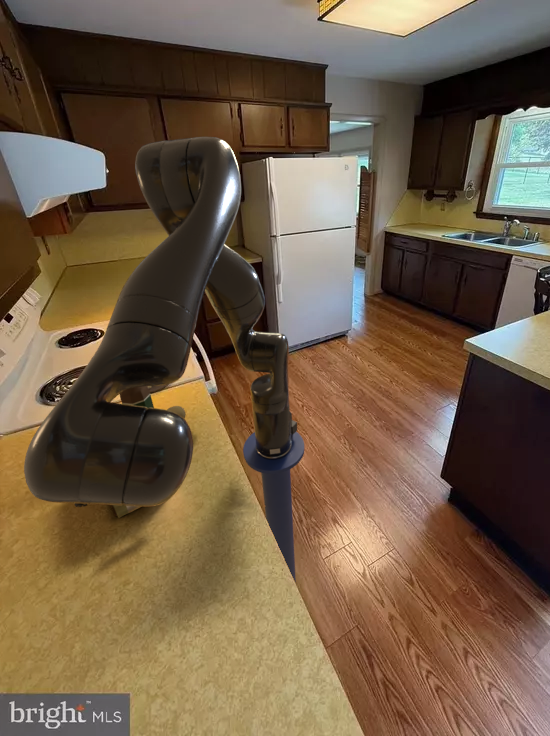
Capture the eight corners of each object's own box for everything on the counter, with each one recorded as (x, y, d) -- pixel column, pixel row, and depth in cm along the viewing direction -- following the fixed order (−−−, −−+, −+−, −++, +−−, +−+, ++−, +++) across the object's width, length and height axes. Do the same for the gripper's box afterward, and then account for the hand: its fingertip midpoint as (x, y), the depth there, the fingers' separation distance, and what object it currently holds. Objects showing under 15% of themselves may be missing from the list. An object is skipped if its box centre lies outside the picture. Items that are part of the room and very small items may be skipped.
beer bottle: (140, 439, 91) (117, 364, 81) (123, 429, 95) (100, 357, 84) (164, 423, 97) (145, 351, 87) (147, 414, 101) (128, 345, 90)
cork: (192, 431, 93) (185, 400, 89) (193, 446, 88) (186, 413, 83) (169, 437, 91) (161, 405, 87) (169, 452, 86) (161, 419, 82)
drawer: (180, 505, 71) (173, 479, 68) (122, 536, 65) (112, 509, 62) (157, 454, 85) (150, 431, 81) (107, 476, 79) (98, 452, 75)
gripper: (181, 414, 43) (174, 434, 56) (49, 464, 36) (77, 473, 49) (201, 470, 41) (189, 477, 54) (66, 535, 34) (90, 524, 47)
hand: (136, 475), depth 52 cm, fingers open, 8 cm apart
